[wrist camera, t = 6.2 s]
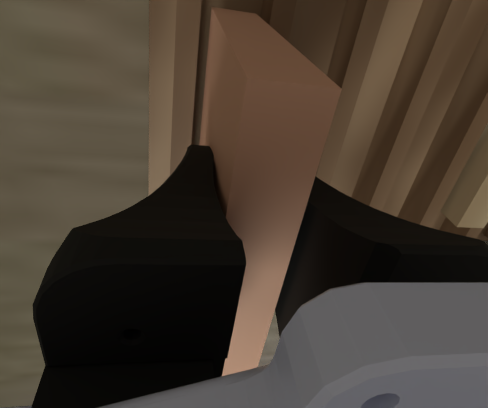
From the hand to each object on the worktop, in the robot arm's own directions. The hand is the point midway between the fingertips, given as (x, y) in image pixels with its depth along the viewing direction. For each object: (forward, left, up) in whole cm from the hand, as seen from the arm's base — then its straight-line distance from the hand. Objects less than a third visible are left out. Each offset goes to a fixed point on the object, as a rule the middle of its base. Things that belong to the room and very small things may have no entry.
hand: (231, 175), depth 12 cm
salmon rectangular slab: (0, 0, -4) cm, 4 cm away
